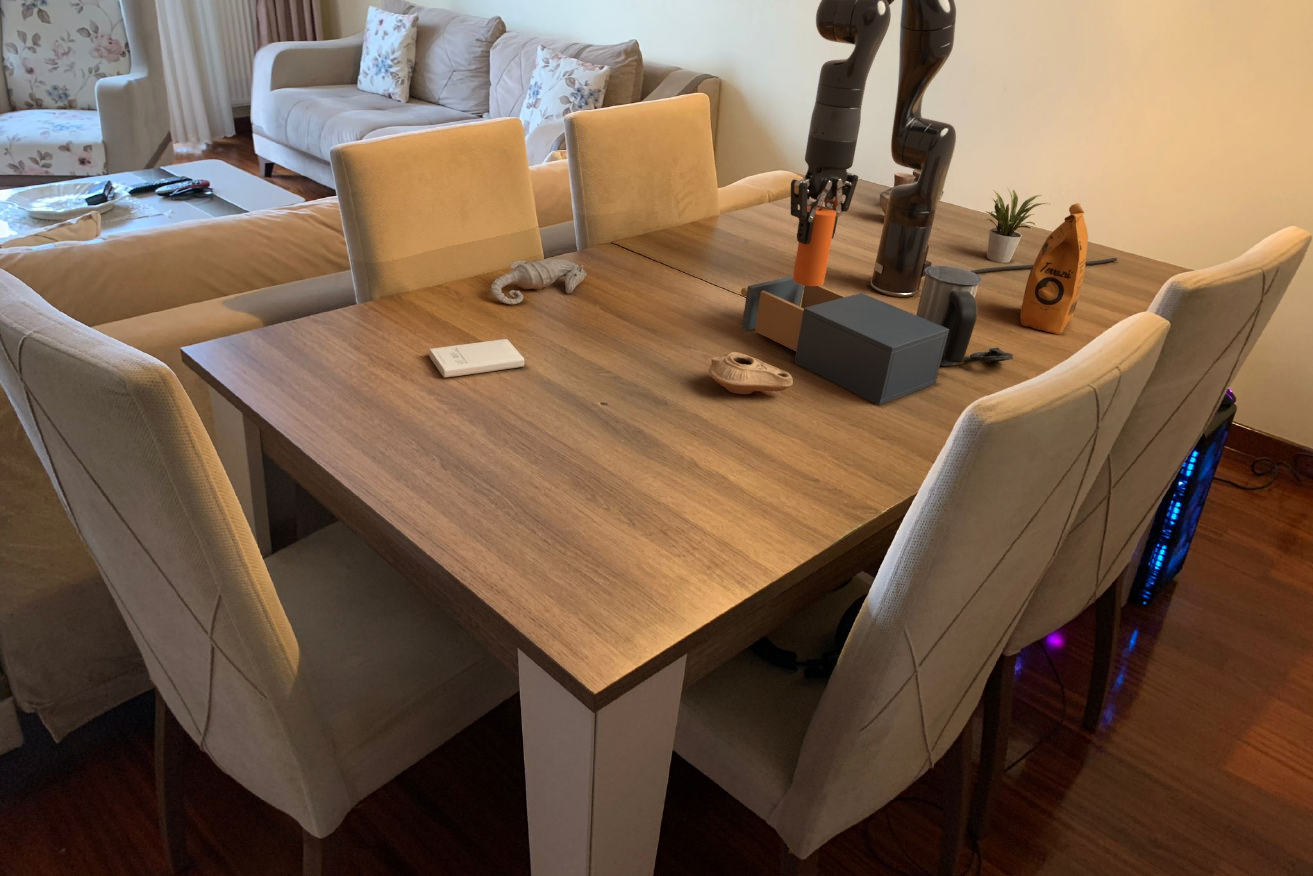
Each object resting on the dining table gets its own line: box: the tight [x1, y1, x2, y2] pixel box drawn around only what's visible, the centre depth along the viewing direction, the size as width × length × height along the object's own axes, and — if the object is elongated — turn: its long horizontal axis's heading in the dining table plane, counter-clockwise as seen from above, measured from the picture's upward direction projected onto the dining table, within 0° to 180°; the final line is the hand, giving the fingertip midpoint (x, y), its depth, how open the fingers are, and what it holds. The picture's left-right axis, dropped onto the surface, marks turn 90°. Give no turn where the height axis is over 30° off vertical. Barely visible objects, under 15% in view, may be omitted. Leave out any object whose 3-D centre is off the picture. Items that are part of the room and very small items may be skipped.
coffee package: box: [1019, 203, 1089, 335], centre depth 172 cm, size 10×12×22 cm
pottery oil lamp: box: [708, 351, 794, 395], centre depth 138 cm, size 9×12×7 cm
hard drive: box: [428, 338, 525, 379], centre depth 140 cm, size 2×8×12 cm
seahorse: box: [489, 257, 588, 306], centre depth 167 cm, size 5×12×20 cm
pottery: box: [879, 169, 945, 221], centre depth 233 cm, size 11×25×12 cm, turn 145°
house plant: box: [984, 187, 1050, 264], centre depth 207 cm, size 14×14×16 cm
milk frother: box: [915, 265, 1014, 367], centre depth 153 cm, size 14×16×15 cm
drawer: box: [740, 275, 848, 352], centre depth 157 cm, size 21×13×8 cm, turn 40°
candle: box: [792, 205, 836, 286], centre depth 150 cm, size 5×5×13 cm
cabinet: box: [794, 292, 949, 406], centre depth 147 cm, size 18×15×10 cm
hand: (815, 239), depth 150 cm, fingers closed on candle, 5 cm apart
